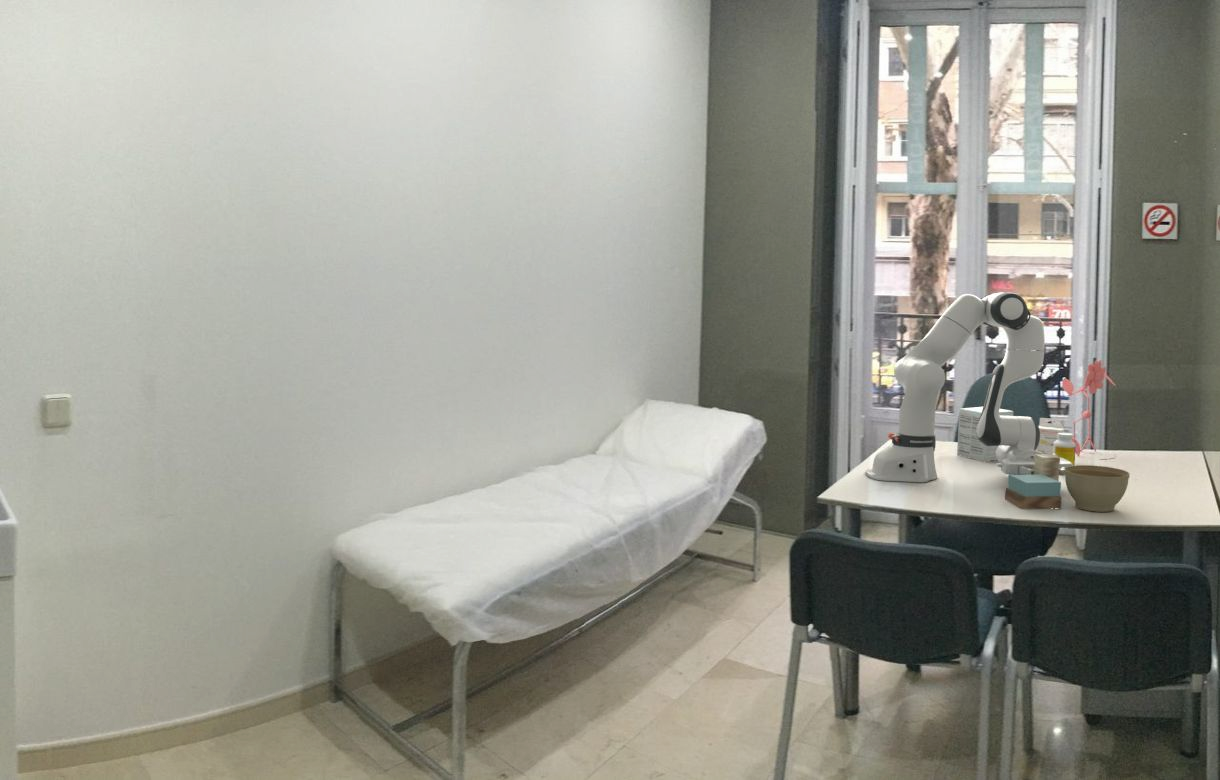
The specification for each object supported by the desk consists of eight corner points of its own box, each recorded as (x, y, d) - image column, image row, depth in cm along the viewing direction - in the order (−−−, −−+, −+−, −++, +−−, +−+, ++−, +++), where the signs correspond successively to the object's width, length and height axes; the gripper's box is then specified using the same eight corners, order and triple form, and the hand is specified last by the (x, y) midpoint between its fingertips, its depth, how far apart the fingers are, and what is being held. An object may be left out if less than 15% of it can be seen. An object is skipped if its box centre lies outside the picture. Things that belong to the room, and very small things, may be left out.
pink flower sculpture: (1049, 455, 325) (1057, 360, 320) (1091, 448, 338) (1099, 357, 333) (1090, 463, 312) (1099, 364, 307) (1132, 456, 325) (1141, 361, 320)
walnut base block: (1021, 510, 251) (1021, 496, 250) (1004, 500, 262) (1005, 487, 261) (1060, 510, 250) (1061, 496, 250) (1042, 500, 261) (1043, 487, 261)
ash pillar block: (1040, 497, 264) (1042, 457, 262) (1032, 493, 269) (1035, 454, 267) (1057, 497, 264) (1059, 457, 262) (1049, 493, 269) (1052, 454, 267)
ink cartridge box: (1034, 459, 317) (1036, 419, 316) (1036, 457, 322) (1038, 417, 320) (1061, 462, 313) (1063, 421, 311) (1062, 460, 317) (1065, 419, 315)
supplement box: (983, 452, 331) (985, 405, 329) (1011, 458, 319) (1014, 410, 317) (956, 455, 326) (958, 408, 324) (984, 462, 314) (986, 413, 312)
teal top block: (1025, 496, 250) (1026, 482, 250) (1008, 488, 260) (1008, 474, 260) (1060, 496, 251) (1061, 482, 250) (1041, 487, 261) (1042, 474, 260)
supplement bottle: (1076, 474, 294) (1079, 435, 293) (1055, 473, 296) (1057, 435, 294) (1070, 469, 301) (1073, 432, 299) (1049, 469, 302) (1051, 431, 301)
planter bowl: (1099, 500, 260) (1102, 463, 259) (1140, 514, 245) (1143, 475, 243) (1049, 502, 258) (1052, 465, 257) (1087, 517, 242) (1090, 478, 241)
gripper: (994, 453, 278) (1013, 462, 264) (1060, 453, 277) (1082, 462, 264) (993, 472, 279) (1011, 483, 265) (1059, 473, 278) (1081, 483, 265)
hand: (1047, 472), depth 264 cm, fingers open, 8 cm apart
